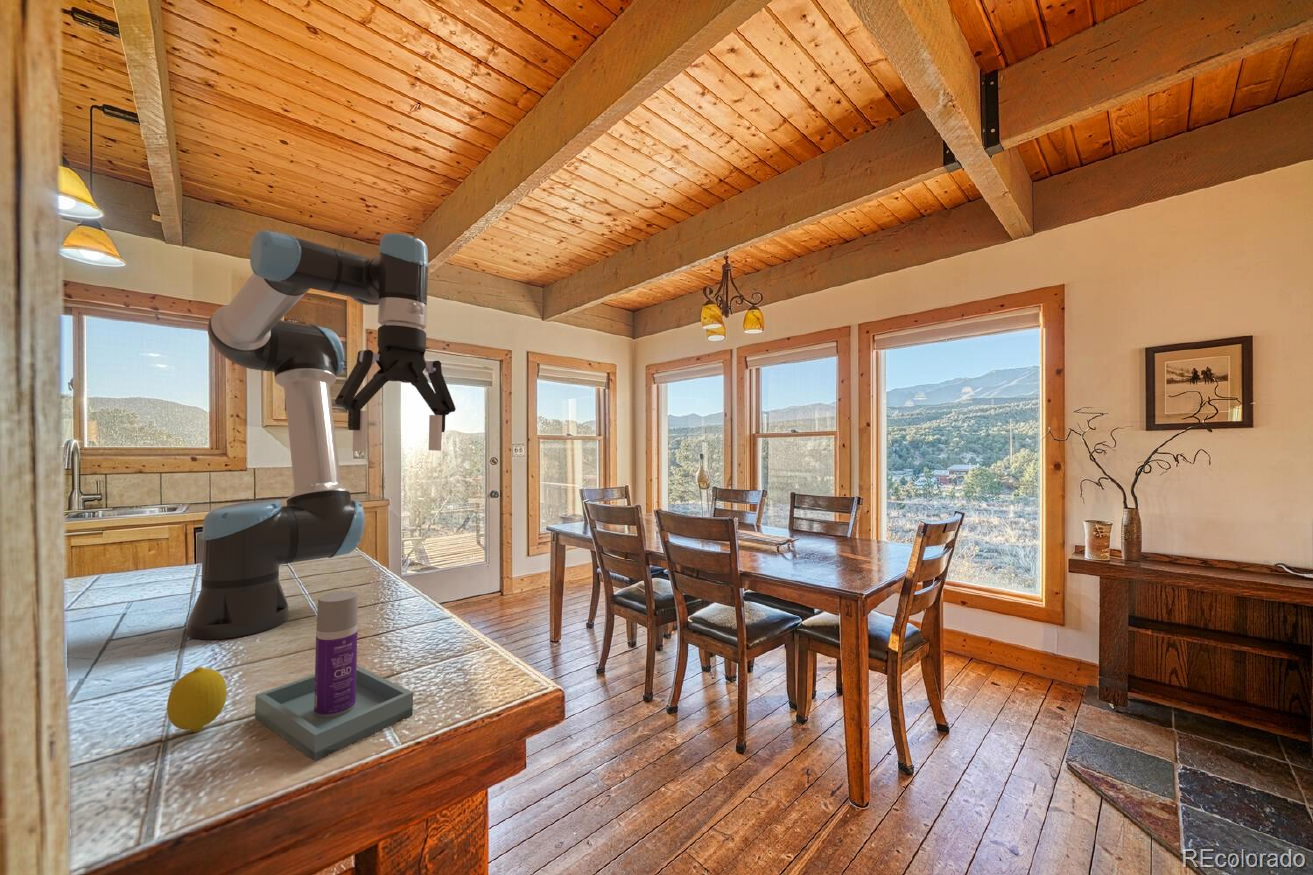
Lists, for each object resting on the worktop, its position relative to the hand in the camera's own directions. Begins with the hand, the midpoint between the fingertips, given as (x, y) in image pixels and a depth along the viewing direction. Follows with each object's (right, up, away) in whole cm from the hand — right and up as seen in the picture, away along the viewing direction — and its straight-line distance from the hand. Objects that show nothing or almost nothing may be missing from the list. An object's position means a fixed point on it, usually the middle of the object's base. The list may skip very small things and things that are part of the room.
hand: (399, 451), depth 88 cm
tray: (+2, -35, -20) cm, 40 cm away
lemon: (-13, -35, -25) cm, 44 cm away
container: (+2, -34, -21) cm, 40 cm away
